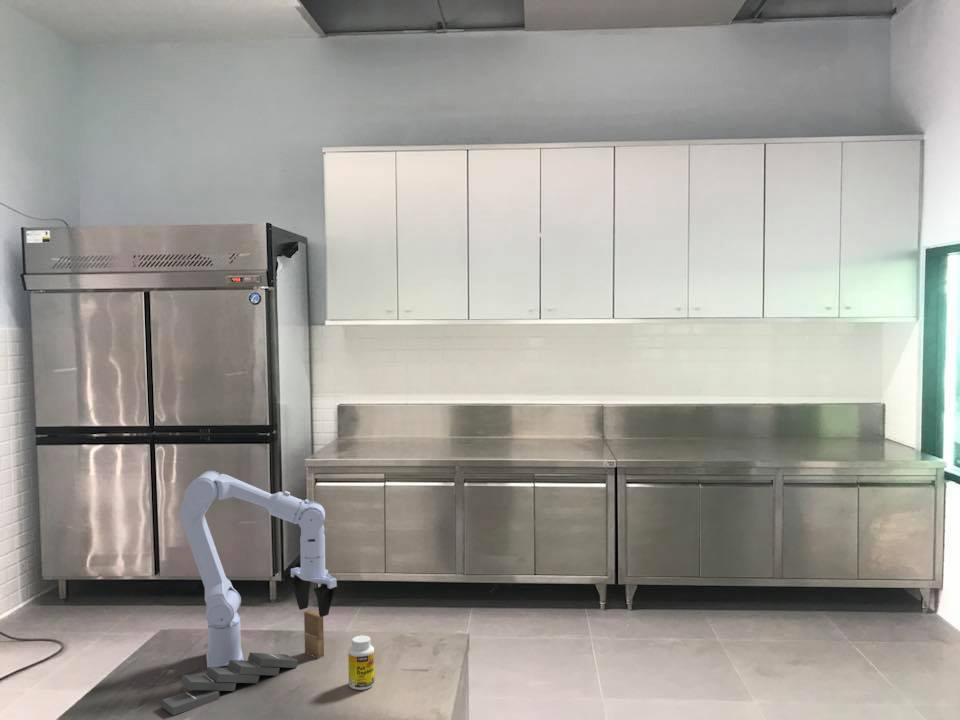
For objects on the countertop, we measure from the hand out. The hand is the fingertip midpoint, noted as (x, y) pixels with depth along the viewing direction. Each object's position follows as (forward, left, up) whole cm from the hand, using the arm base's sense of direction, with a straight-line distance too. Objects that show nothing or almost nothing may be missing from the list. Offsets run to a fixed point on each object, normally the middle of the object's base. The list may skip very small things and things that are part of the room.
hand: (313, 612), depth 185 cm
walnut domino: (0, 0, -10) cm, 10 cm away
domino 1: (+11, -19, -10) cm, 24 cm away
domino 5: (+3, -6, -10) cm, 12 cm away
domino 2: (+13, -23, -10) cm, 28 cm away
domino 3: (+8, -15, -10) cm, 19 cm away
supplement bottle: (+20, +7, -10) cm, 24 cm away
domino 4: (+6, -10, -10) cm, 15 cm away
